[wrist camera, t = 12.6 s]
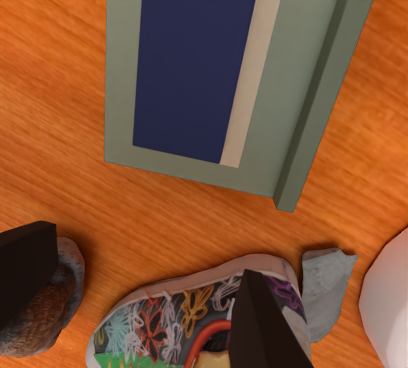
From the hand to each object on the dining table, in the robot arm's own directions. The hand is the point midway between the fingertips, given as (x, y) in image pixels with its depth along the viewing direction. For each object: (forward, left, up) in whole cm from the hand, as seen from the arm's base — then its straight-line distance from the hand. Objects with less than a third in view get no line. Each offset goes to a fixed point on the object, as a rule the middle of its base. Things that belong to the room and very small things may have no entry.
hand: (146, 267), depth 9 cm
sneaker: (+7, -11, -10) cm, 16 cm away
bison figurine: (-5, -16, -10) cm, 20 cm away
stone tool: (+12, -3, -8) cm, 15 cm away
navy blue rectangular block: (-3, +7, -7) cm, 10 cm away
